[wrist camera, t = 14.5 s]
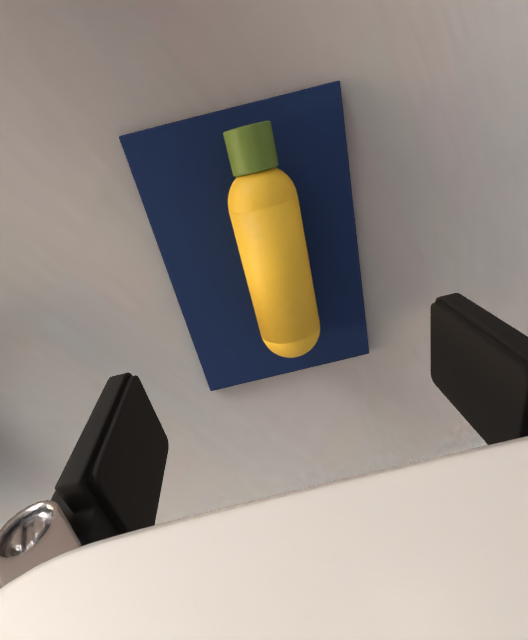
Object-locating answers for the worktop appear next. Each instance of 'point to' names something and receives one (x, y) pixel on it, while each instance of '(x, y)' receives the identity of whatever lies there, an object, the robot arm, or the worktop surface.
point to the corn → (271, 242)
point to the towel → (219, 239)
